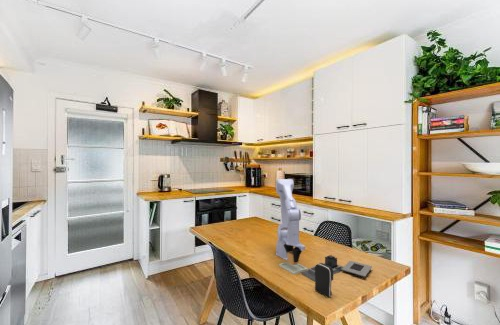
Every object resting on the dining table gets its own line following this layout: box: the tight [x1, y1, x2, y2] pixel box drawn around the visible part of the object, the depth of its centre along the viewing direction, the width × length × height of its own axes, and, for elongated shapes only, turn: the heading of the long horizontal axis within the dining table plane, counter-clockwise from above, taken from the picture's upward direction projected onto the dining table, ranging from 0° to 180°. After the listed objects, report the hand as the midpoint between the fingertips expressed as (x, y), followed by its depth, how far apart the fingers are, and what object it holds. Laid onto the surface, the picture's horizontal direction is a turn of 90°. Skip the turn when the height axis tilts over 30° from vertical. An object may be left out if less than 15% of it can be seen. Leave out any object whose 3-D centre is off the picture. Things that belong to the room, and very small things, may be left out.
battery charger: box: [314, 262, 334, 298], centre depth 95 cm, size 7×4×11 cm, turn 37°
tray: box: [278, 261, 308, 275], centre depth 117 cm, size 11×9×1 cm
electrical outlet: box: [341, 260, 373, 278], centre depth 114 cm, size 13×10×2 cm
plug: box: [286, 251, 300, 265], centre depth 117 cm, size 4×4×6 cm
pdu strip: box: [301, 254, 344, 282], centre depth 113 cm, size 22×8×7 cm, turn 122°
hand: (292, 260), depth 117 cm, fingers closed on plug, 4 cm apart
